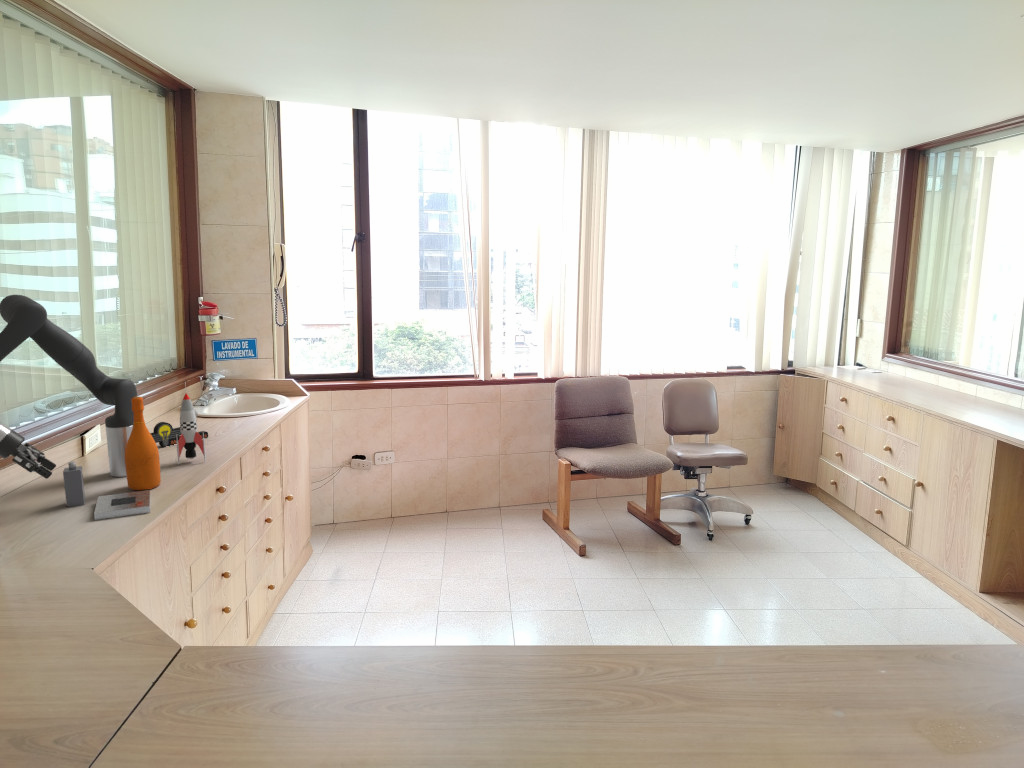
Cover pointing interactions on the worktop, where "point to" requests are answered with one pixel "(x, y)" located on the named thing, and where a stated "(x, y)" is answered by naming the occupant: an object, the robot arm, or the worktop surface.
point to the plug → (74, 485)
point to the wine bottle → (141, 453)
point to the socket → (122, 504)
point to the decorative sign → (169, 434)
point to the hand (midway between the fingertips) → (52, 472)
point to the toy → (189, 431)
